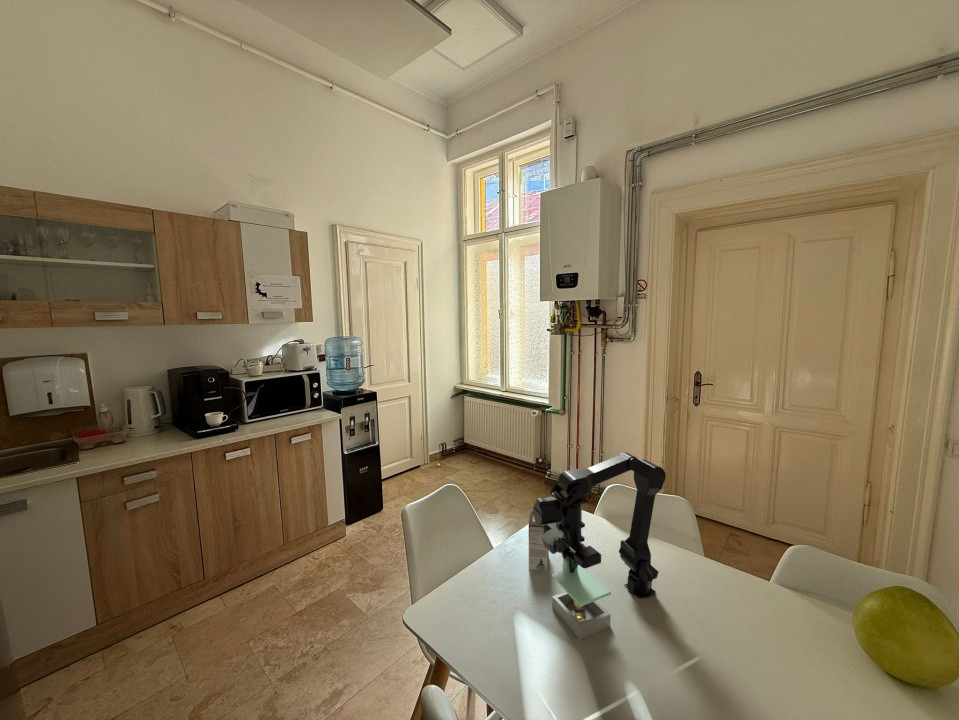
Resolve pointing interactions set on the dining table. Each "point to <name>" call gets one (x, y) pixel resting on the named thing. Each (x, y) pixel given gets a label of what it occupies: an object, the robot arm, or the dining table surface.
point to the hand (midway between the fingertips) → (570, 570)
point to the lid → (580, 584)
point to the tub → (593, 612)
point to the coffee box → (537, 546)
